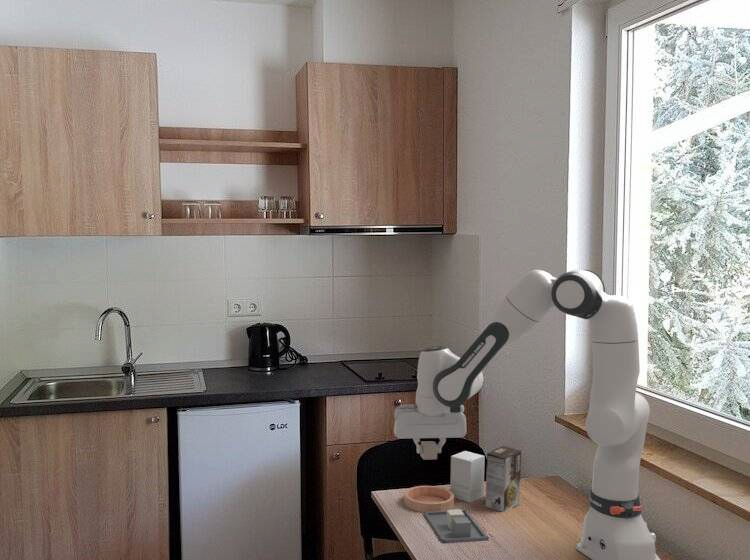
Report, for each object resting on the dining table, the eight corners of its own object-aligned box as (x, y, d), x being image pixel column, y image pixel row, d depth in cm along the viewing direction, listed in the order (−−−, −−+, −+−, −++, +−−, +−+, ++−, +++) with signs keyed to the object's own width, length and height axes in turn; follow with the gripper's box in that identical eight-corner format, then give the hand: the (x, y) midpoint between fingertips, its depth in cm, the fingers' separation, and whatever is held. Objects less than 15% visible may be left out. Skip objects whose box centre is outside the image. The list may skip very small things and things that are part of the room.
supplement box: (484, 497, 231) (486, 455, 230) (469, 504, 226) (470, 461, 225) (464, 491, 236) (465, 449, 235) (448, 497, 231) (450, 455, 230)
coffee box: (500, 499, 231) (502, 445, 229) (520, 504, 226) (522, 450, 225) (484, 508, 224) (486, 452, 222) (504, 514, 219) (506, 457, 218)
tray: (488, 541, 201) (488, 537, 201) (442, 544, 199) (442, 540, 199) (466, 513, 219) (466, 509, 219) (424, 516, 217) (424, 511, 216)
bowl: (460, 512, 219) (460, 502, 219) (411, 515, 217) (411, 505, 216) (445, 494, 233) (446, 484, 233) (399, 497, 230) (399, 487, 230)
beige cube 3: (464, 529, 207) (464, 514, 207) (450, 529, 207) (450, 515, 206) (459, 523, 211) (460, 509, 210) (446, 524, 210) (446, 509, 210)
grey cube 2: (470, 537, 202) (471, 522, 202) (456, 538, 201) (456, 523, 201) (466, 532, 205) (466, 517, 205) (452, 532, 205) (452, 518, 204)
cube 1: (436, 459, 218) (437, 445, 218) (423, 459, 217) (424, 445, 217) (433, 454, 222) (434, 441, 221) (420, 455, 221) (421, 441, 220)
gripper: (397, 407, 213) (395, 457, 214) (469, 406, 217) (466, 455, 218) (392, 401, 219) (389, 449, 220) (462, 400, 223) (459, 448, 225)
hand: (428, 452), depth 219 cm, fingers closed on cube 1, 4 cm apart
